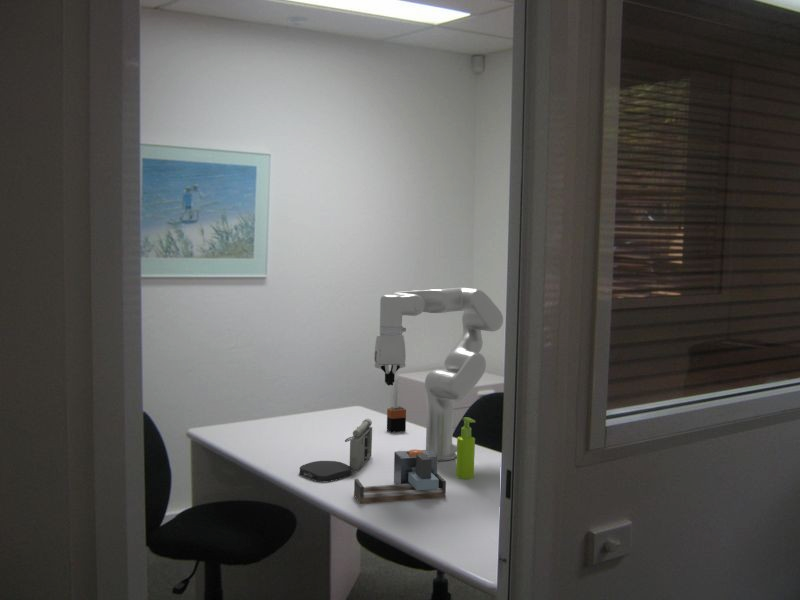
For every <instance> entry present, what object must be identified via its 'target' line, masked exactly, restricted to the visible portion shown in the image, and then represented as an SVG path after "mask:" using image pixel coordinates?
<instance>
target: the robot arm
mask: <svg viewBox="0 0 800 600" xmlns="http://www.w3.org/2000/svg"><path fill="white" fill-rule="evenodd" d="M379 301H380V302H379V303H380V304H379V334H377V335H376V339H375V344H374V345H375V347H374V356H373V360H374V365H373V366H374V368H376V369H380V370H382V371H383V373H384V383H385V384H386V385H387V386H393V385H394V383H395V378H396V377H395V376H396V373H397V372H398V370H400V369H402V368H406V343H405V336H404V335H403V333H404V332H405V333H406V331H407V328H406V327H404V326H403V316H409V317H416V316H419V315H421V314H422V313H428V314H429V313H430V314H442V313H443V314H446V313H451V312H462V319H461V322H462V335H461V338H460V339H459V340H458V342H457V343H456V344H455V346H454V347H453V348H452V349H451V350H450V352H449V353H448V355H447V356H446V358H445V359H444V364H443V365H444V368H445V370H444V369H434V370H431V371H429V372H428V373H427V375H426V376H425V379H424V389H425V395H426V431H425V432H426V433H425V434H426V436H425V438H426V439H425V450H431V451H432V452H433V453H434V454H435V455H436V456H437V462H439V461H440V462H443V461H452V460H455V459H456V458H457V444H454V443H453V431H454V429H453V426H454V425H453V424H454V405H453V402H452V401H456V402H458V401H462V400H464V399H466V398H467V397H468V395H470V393H471V392H472V390H473V389H474V388H475V387H476V385H477V384H478V383H479V381H480V380H481V379H482V377H483V376H484V374H485V371H486V368H487V361H486V358H485V357H484V355H483V354H481V353H480V351H481V350H482V348H483V345H484V344H483V337H482V336H483V335H482V331H483V332H491V333H492V332H497V331H499V330H500V329H501V328H502V326H503V325H504V324H503V323H504V317H503V314H502V311H501V310H500V309H499V307H498V306H497V305H496V304H495V303H494V301H493V300H492V299H491V298H490V297H489V296H488V295H487V294H486V293H485V292H484V291H483V290H482V289H479V288H472V287H471V288H470V287H451V288H449V287H448V288H440V289H423V290H422V289H421V290H407V291H406V290H405V291H395V292H393V293H391V294H384V295H381V296H380V300H379ZM390 365H391V366H390ZM389 367H390V368H389Z"/></svg>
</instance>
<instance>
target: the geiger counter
mask: <svg viewBox="0 0 800 600" xmlns="http://www.w3.org/2000/svg"><path fill="white" fill-rule="evenodd" d="M372 424H373V422H372V420H371V419H370V418H365V419H364V420H363V421H362V423H361V424H360V425H359V426H357V427H356V428H355V429H354V430H353V432H352V436H350V437H348V438H346V439H345V440H344V442H345V443H347V442H349V441H350V443H349V466H350V467H351V468H352V472H359V471H360V470H361V469H362V468H363V467H364V465H365V464H367V462H368V461H367V460H370V458H371V457H372V450H373V449H372V446H373V427H372ZM366 461H367V462H366ZM360 468H361V469H360Z"/></svg>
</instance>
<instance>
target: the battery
mask: <svg viewBox="0 0 800 600" xmlns="http://www.w3.org/2000/svg"><path fill="white" fill-rule="evenodd" d="M386 411H387V412H386V430H387V431H388V432H390V433H399V432H400V431H401V432H405V431H406V428H407V427H406V426H407V423H406V422H407V419H406V418H407V409H406V408H404V407H403V405H397V407H395V406H391V407H390V408H387V410H386ZM401 432H400V433H401Z"/></svg>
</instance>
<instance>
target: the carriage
mask: <svg viewBox="0 0 800 600" xmlns="http://www.w3.org/2000/svg"><path fill="white" fill-rule="evenodd" d="M431 463H432V459H431V458H430V457H428V456H427V455H426V454H416V472H408V482H409V483H410V484H411V485H412V486H413V487H414V488H415V489H416V490H417V491H418V490H432V489H439V479H438V478H437V477H436V476H435V475H433V474H432V473H431Z"/></svg>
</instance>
